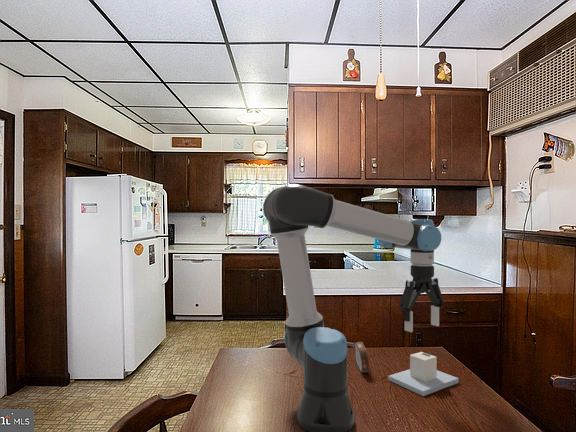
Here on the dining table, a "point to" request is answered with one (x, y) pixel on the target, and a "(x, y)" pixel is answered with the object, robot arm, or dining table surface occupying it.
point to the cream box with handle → (423, 366)
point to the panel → (421, 386)
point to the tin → (362, 357)
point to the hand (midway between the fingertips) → (422, 328)
